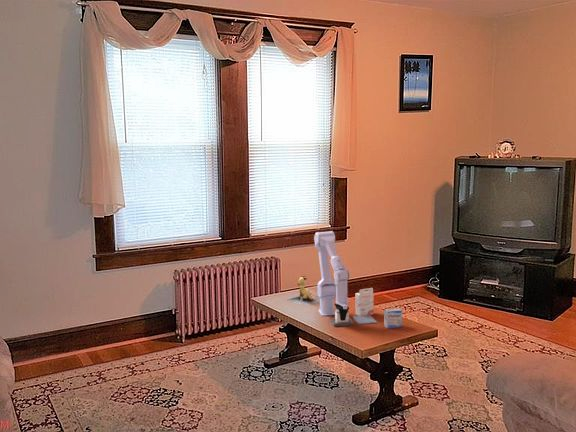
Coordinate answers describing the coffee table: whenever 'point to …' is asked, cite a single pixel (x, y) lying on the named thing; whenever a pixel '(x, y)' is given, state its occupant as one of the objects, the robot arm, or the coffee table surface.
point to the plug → (337, 317)
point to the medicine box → (393, 318)
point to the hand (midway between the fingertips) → (341, 318)
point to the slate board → (364, 319)
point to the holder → (341, 323)
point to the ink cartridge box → (364, 302)
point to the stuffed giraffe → (304, 293)
